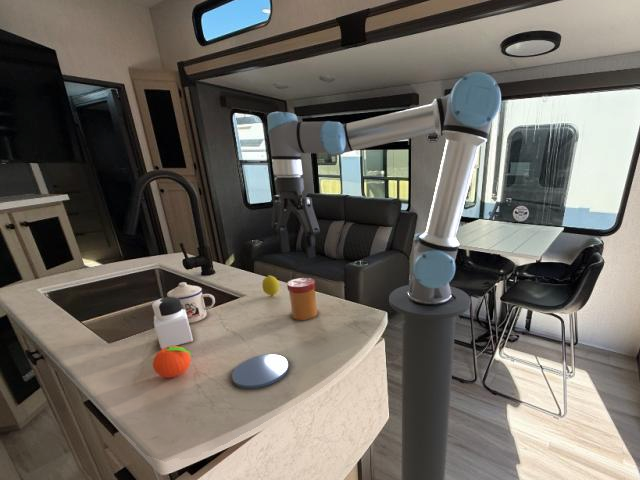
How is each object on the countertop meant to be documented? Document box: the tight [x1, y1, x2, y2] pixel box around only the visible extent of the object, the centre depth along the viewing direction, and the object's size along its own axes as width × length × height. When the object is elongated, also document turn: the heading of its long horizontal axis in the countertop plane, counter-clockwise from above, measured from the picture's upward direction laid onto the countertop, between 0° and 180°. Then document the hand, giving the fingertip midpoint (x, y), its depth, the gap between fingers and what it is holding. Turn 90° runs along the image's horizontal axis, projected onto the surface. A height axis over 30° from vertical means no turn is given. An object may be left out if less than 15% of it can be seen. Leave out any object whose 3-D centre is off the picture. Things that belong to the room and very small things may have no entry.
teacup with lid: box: [166, 281, 216, 324], centre depth 98 cm, size 12×9×12 cm
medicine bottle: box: [151, 296, 194, 350], centre depth 85 cm, size 7×7×12 cm
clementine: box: [152, 345, 192, 378], centre depth 71 cm, size 8×7×7 cm
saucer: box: [231, 353, 289, 390], centre depth 73 cm, size 12×12×1 cm
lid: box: [286, 277, 316, 293], centre depth 98 cm, size 8×8×2 cm
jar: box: [288, 287, 318, 321], centre depth 100 cm, size 8×8×11 cm
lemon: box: [261, 274, 280, 297], centre depth 115 cm, size 6×6×8 cm
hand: (297, 254), depth 95 cm, fingers open, 11 cm apart
